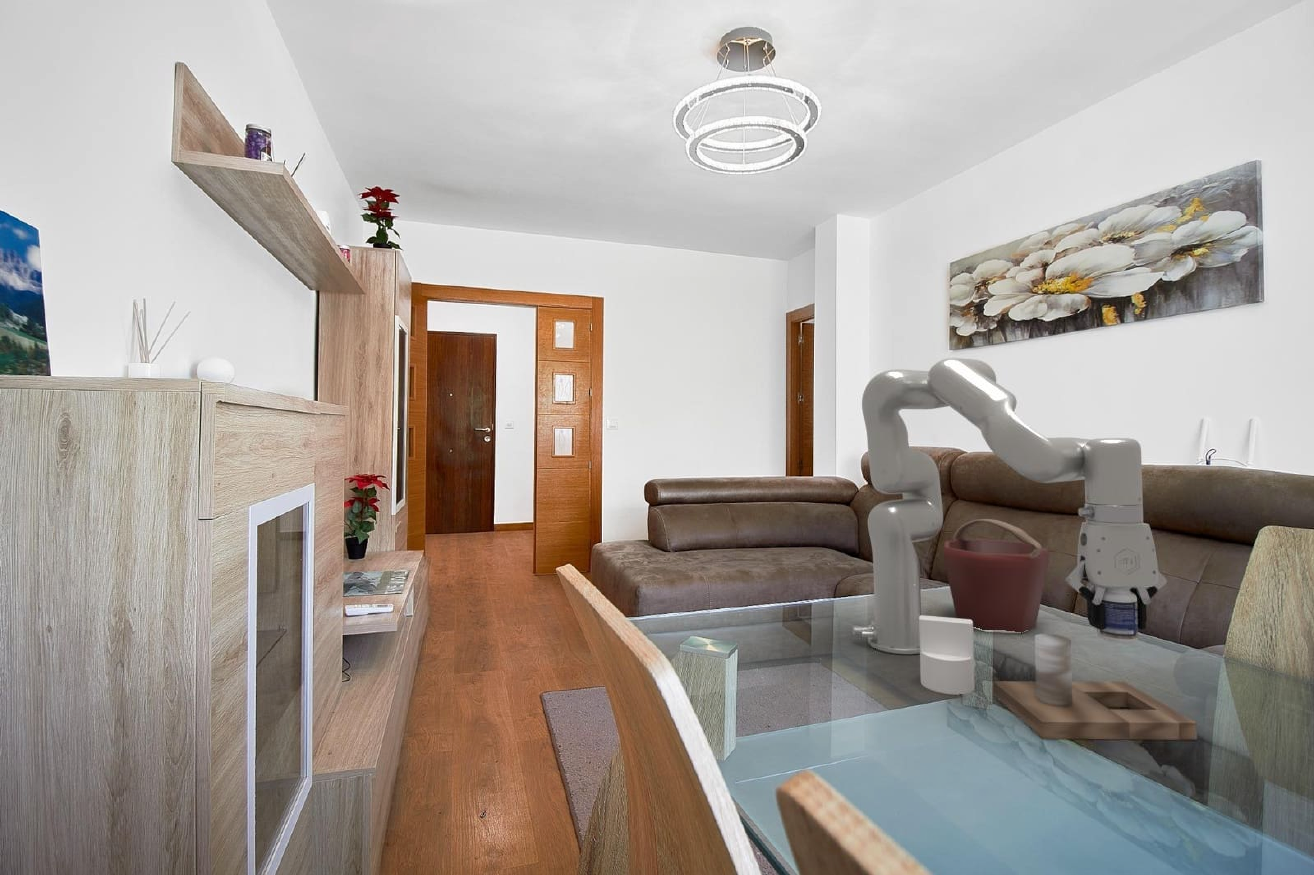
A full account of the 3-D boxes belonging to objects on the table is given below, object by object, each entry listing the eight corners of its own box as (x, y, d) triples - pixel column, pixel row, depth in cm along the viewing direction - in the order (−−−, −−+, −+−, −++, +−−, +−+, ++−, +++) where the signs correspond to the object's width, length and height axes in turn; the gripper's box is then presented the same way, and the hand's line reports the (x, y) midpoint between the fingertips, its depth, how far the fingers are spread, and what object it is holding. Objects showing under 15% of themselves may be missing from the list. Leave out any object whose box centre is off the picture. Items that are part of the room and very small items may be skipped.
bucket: (1070, 639, 141) (1067, 526, 141) (970, 640, 141) (967, 528, 141) (1010, 609, 165) (1008, 513, 165) (925, 611, 166) (922, 514, 166)
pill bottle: (1145, 644, 99) (1143, 582, 99) (1107, 643, 100) (1105, 581, 100) (1127, 634, 105) (1125, 574, 105) (1090, 632, 106) (1089, 574, 106)
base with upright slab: (973, 679, 119) (972, 615, 119) (975, 697, 111) (973, 629, 111) (921, 673, 123) (920, 611, 123) (919, 690, 115) (917, 623, 115)
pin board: (1042, 738, 96) (1040, 655, 96) (993, 695, 112) (991, 624, 112) (1196, 739, 94) (1194, 655, 94) (1124, 696, 110) (1122, 623, 110)
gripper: (1072, 518, 99) (1075, 634, 99) (1187, 516, 98) (1190, 634, 98) (1045, 513, 107) (1049, 621, 107) (1152, 511, 106) (1156, 620, 106)
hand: (1116, 626), depth 102 cm, fingers closed on pill bottle, 5 cm apart
